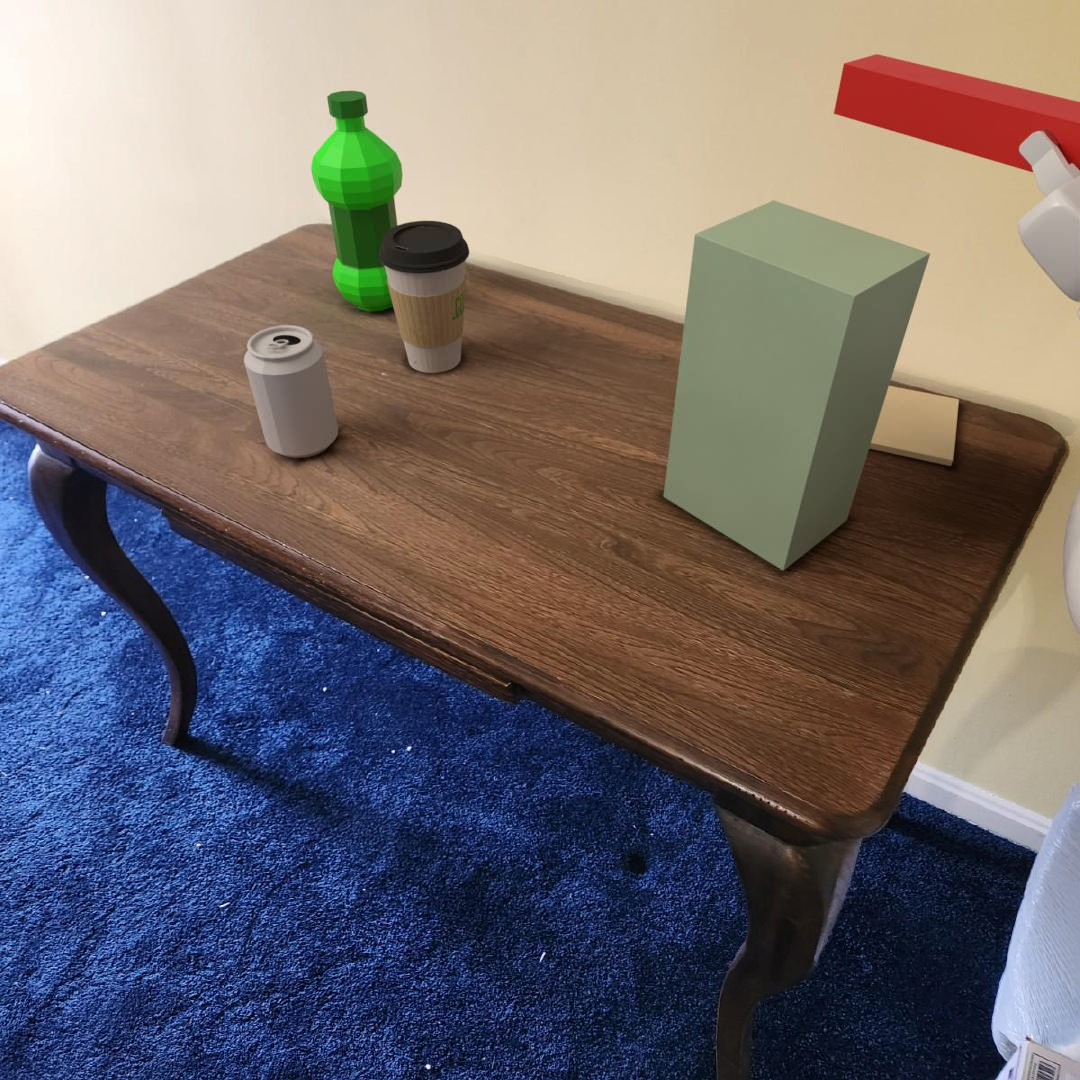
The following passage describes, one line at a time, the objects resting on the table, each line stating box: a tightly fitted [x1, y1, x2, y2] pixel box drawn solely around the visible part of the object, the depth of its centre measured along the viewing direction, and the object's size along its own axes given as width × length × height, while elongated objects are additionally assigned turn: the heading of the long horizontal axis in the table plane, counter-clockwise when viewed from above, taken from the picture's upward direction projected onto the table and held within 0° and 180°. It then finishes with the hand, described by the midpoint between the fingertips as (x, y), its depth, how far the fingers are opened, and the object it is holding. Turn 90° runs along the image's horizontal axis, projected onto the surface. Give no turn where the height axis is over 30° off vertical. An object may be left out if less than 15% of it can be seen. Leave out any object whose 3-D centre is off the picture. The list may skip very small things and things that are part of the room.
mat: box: [869, 385, 960, 467], centre depth 93 cm, size 20×12×1 cm, turn 67°
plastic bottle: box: [310, 90, 403, 313], centre depth 105 cm, size 10×10×25 cm
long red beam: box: [833, 53, 1080, 174], centre depth 68 cm, size 24×4×4 cm, turn 38°
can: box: [243, 324, 339, 459], centre depth 86 cm, size 8×8×12 cm
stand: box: [662, 200, 931, 572], centre depth 73 cm, size 14×10×26 cm
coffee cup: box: [379, 220, 470, 374], centre depth 97 cm, size 10×10×15 cm
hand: (1047, 128), depth 64 cm, fingers closed on long red beam, 4 cm apart
